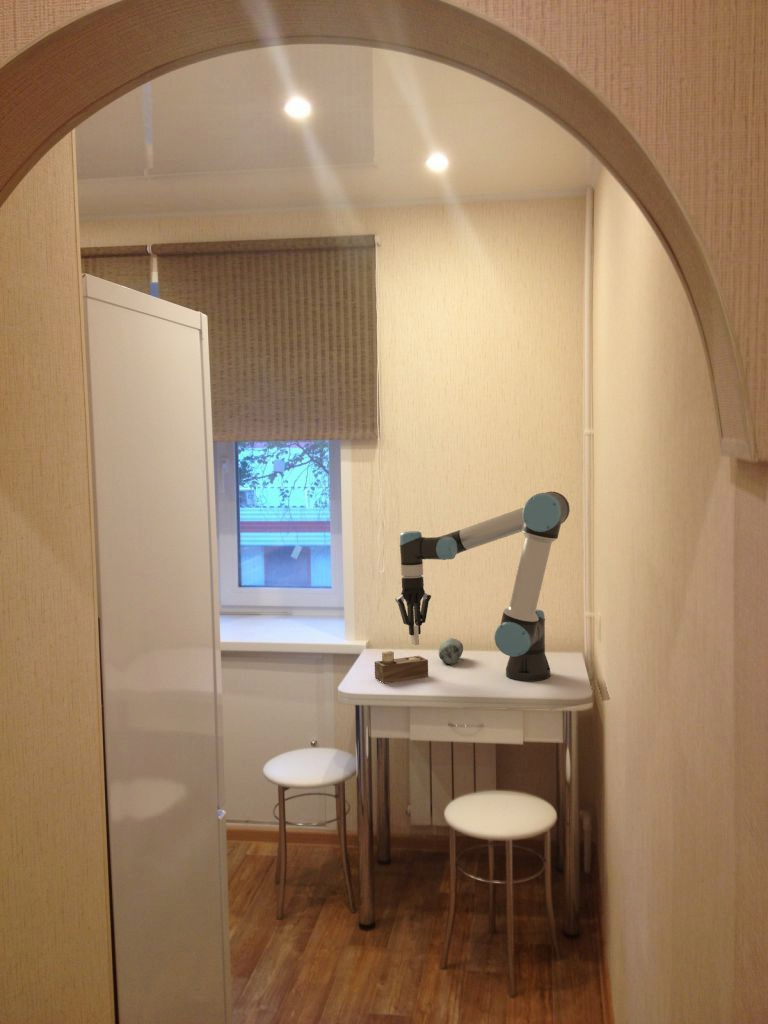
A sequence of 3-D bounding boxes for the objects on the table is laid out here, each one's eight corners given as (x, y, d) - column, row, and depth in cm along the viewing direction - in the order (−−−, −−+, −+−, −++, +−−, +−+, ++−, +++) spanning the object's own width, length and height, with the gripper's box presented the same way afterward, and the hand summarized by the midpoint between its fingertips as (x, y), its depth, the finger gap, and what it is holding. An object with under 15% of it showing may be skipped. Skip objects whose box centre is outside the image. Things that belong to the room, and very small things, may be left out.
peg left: (396, 667, 305) (395, 652, 305) (385, 668, 303) (384, 654, 303) (391, 664, 309) (390, 650, 308) (380, 666, 307) (380, 651, 307)
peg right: (422, 673, 310) (422, 659, 309) (412, 675, 308) (411, 660, 307) (417, 671, 313) (416, 657, 313) (406, 672, 311) (406, 658, 311)
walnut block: (428, 676, 309) (427, 659, 308) (383, 683, 302) (383, 665, 301) (419, 672, 315) (418, 655, 315) (375, 678, 308) (374, 661, 308)
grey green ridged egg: (464, 658, 321) (452, 632, 324) (441, 669, 323) (429, 644, 326) (472, 658, 334) (460, 634, 337) (449, 669, 336) (438, 645, 339)
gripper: (424, 573, 314) (427, 639, 316) (390, 577, 309) (393, 644, 310) (434, 575, 307) (437, 643, 309) (400, 579, 302) (403, 648, 303)
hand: (415, 644), depth 310 cm, fingers closed
